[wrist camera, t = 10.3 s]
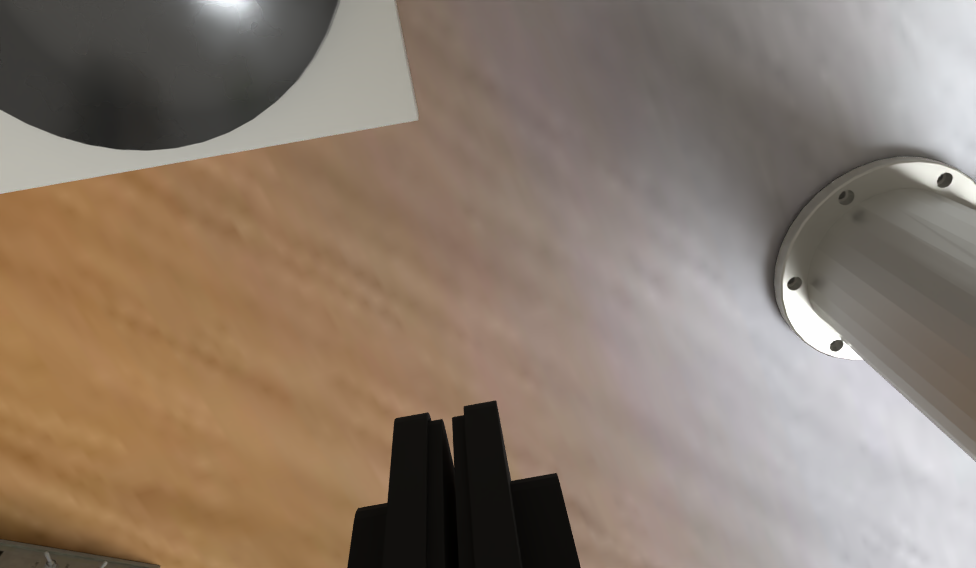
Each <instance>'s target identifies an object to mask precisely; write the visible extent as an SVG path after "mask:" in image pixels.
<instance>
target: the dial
mask: <svg viewBox="0 0 976 568" xmlns="http://www.w3.org/2000/svg"><path fill="white" fill-rule="evenodd" d="M340 1H341V0H0V110H2V111H3V112H5V113H7V114H9V115H11V116H13V117H15V118H17V119H19V120H21V121H22V122H24V123H26V124H28V125H31V126H33V127H36V128H38V129H41V130H43V131H46V132H48V133H51V134H53V135H56V136H58V137H62V138H66V139H69V140H73V141H76V142H80V143H83V144H87V145H92V146H99V147H105V148H111V149H117V150H140V151H151V150H162V149H174V148H180V147H184V146H189V145H193V144H197V143H202V142H205V141H208V140H210V139H213V138H216V137H218V136H221V135H224V134H226V133H229V132H231V131H233V130H235V129H236V128H238V127H240V126H242V125H244V124H246V123H247V122H249V121H251V120H253V119H254V118H256V117H257V116H258V115H259V114H261V113H262V112H263V111H265V110H266V109H267V108H269V107H270V106H271V105H273V104H274V103H275V102H276V101H278V100H279V99H280V98H281V97H282V96H283V95H284V94H285V93H286V92H287V91H288V90H289V89H290V88H291V87H292V86H293V85H294V84H295V83H296V82H297V81H298V80H299V79H300V78H301V76H302V75H303V74H304V72H305V71H306V69H307V68H308V67H309V65H310V64H311V63H312V61H313V60H314V59H315V57H316V56H317V54H318V52H319V50H320V48H321V46H322V45H323V43H324V41H325V39H326V37H327V35H328V33H329V31H330V29H331V26H332V23H333V21H334V18H335V15H336V13H337V10H338V7H339V5H340Z"/></svg>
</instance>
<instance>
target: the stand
mask: <svg viewBox="0 0 976 568" xmlns="http://www.w3.org/2000/svg"><path fill="white" fill-rule="evenodd" d="M418 117H419V113H418V108H417V103H416V98H415V93H414V88H413V83H412V78H411V73H410V68H409V63H408V58H407V53H406V48H405V43H404V38H403V33H402V28H401V23H400V18H399V13H398V8H397V3H396V0H341V1H340V5H339V7H338V10H337V13H336V15H335V18H334V21H333V23H332V26H331V29H330V31H329V33H328V35H327V37H326V39H325V41H324V43H323V45H322V46H321V48H320V50H319V52H318V54H317V56H316V57H315V59H314V60H313V61H312V63H311V64H310V65H309V67H308V68H307V69H306V71H305V72H304V74H303V75H302V76H301V78H300V79H299V80H298V81H297V82H296V83H295V84H294V85H293V86H292V87H291V88H290V89H289V90H288V91H287V92H286V93H285V94H284V95H283V96H282V97H281V98H280V99H279V100H278V101H276V102H275V103H274V104H273V105H271V106H270V107H269V108H267V109H266V110H265V111H263V112H262V113H261V114H259V115H258V116H257V117H256V118H254V119H253V120H251V121H249V122H247V123H246V124H244V125H242V126H240V127H238V128H236V129H235V130H233V131H231V132H229V133H226V134H224V135H221V136H218V137H216V138H213V139H210V140H208V141H205V142H202V143H197V144H193V145H189V146H184V147H180V148H174V149H162V150H151V151H140V150H117V149H111V148H105V147H99V146H92V145H87V144H83V143H80V142H76V141H73V140H69V139H66V138H62V137H58V136H56V135H53V134H51V133H48V132H46V131H43V130H41V129H38V128H36V127H33V126H31V125H28V124H26V123H24V122H22V121H21V120H19V119H17V118H15V117H13V116H11V115H9V114H7V113H5V112H3V111H2V110H0V194H2V193H7V192H13V191H19V190H24V189H30V188H36V187H42V186H47V185H53V184H59V183H64V182H70V181H76V180H81V179H87V178H93V177H98V176H104V175H110V174H115V173H121V172H127V171H132V170H138V169H144V168H149V167H155V166H161V165H166V164H172V163H178V162H184V161H189V160H195V159H201V158H206V157H212V156H218V155H223V154H229V153H235V152H240V151H246V150H252V149H257V148H263V147H269V146H274V145H280V144H286V143H291V142H297V141H303V140H309V139H314V138H320V137H326V136H331V135H337V134H343V133H348V132H354V131H360V130H365V129H371V128H377V127H382V126H388V125H394V124H399V123H405V122H411V121H416V120H418Z"/></svg>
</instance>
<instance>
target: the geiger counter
mask: <svg viewBox="0 0 976 568" xmlns="http://www.w3.org/2000/svg"><path fill="white" fill-rule="evenodd" d="M0 568H160V566H159V565H154V564H148V563H142V562H136V561H130V560H124V559H118V558H111V557H105V556H99V555H93V554H87V553H81V552H75V551H69V550H63V549H57V548H51V547H45V546H39V545H32V544H26V543H20V542H14V541H8V540H2V539H0Z"/></svg>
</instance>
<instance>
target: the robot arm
mask: <svg viewBox="0 0 976 568" xmlns="http://www.w3.org/2000/svg"><path fill="white" fill-rule="evenodd" d="M774 288H775V295H776V302H777V304H778V307H779V309H780V312H781V314H782V317H783V318H784V320H785V321H786V322H787V324H788V325H789V327H790V328H791V330H792V331H793V332H795V333H796V334H797V335H798V336H799V337H800V338H801V339H802V340H803V341H804V342H805V343H806V344H808V345H809V346H811V347H812V348H814V349H815V350H817V351H819V352H821V353H824V354H826V355H828V356H831V357H836V358H842V359H848V360H864V361H865V362H866V363H867V364H868V365H870V366H871V367H872V368H873V369H874V370H875V371H876V372H877V373H878V374H880V375H881V376H882V377H883V378H884V379H885V380H886V381H887V382H888V383H889V384H891V385H892V386H893V387H894V388H895V389H896V390H897V391H898V392H899V393H900V394H902V395H903V396H904V397H905V398H906V399H907V400H908V401H909V402H910V403H911V404H913V405H914V406H915V407H916V408H917V409H918V410H919V411H920V412H921V413H923V414H924V415H925V416H926V417H927V418H928V419H929V420H930V421H931V422H932V423H934V424H935V425H936V426H937V427H938V428H939V429H940V430H941V431H942V432H943V433H945V434H946V435H947V436H948V437H949V438H950V439H951V440H952V441H953V442H954V443H956V444H957V445H958V446H959V447H960V448H961V449H962V450H963V451H964V452H966V453H967V454H968V455H969V456H970V457H971V458H972V459H973V460H974V461H975V462H976V183H975V182H974V181H973V179H972V178H970V177H969V176H967V175H966V174H964V173H963V172H961V171H960V170H958V169H957V168H954V167H952V166H949V165H947V164H944V163H942V162H939V161H936V160H931V159H927V158H923V157H902V156H899V157H893V158H887V159H882V160H877V161H874V162H871V163H868V164H866V165H863V166H860V167H857V168H855V169H853V170H852V171H850V172H848V173H846V174H844V175H842V176H841V177H839V178H837V179H835V180H834V181H833V182H832V183H830V184H829V185H828V186H826V187H825V188H824V189H823V190H821V191H820V192H819V193H817V195H816V196H815V197H814V198H813V199H812V200H811V201H810V202H809V203H808V204H807V205H806V206H805V207H804V208H803V209H802V210H801V212H800V213H799V215H798V216H797V218H796V219H795V221H794V222H793V223H792V225H791V226H790V228H789V230H788V232H787V234H786V236H785V238H784V240H783V243H782V245H781V247H780V250H779V254H778V258H777V261H776V265H775V277H774ZM452 426H453V448H454V465H453V461H452V456H451V452H450V447H449V443H448V439H447V434H446V430H445V426H444V422H443V420H442V419H440V420H434V421H431V418H430V415H429V413H423V414H417V415H411V416H406V417H400V418H396V419H395V421H394V431H393V443H392V455H391V467H390V479H389V492H388V503H384V504H379V505H373V506H367V507H362V508H358V510H357V511H356V514H355V518H354V524H353V532H352V539H351V546H350V553H349V560H348V567H347V568H581V567H580V563H579V559H578V555H577V551H576V547H575V543H574V539H573V535H572V531H571V527H570V523H569V519H568V515H567V511H566V507H565V503H564V499H563V495H562V491H561V487H560V483H559V479H558V476H557V473H554V474H548V475H543V476H537V477H531V478H526V479H520V480H514V481H511V478H510V472H509V467H508V461H507V456H506V451H505V445H504V440H503V434H502V429H501V424H500V418H499V413H498V407H497V402H496V401H491V402H485V403H479V404H474V405H468V406H464V415H463V416H457V417H453V418H452Z"/></svg>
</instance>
